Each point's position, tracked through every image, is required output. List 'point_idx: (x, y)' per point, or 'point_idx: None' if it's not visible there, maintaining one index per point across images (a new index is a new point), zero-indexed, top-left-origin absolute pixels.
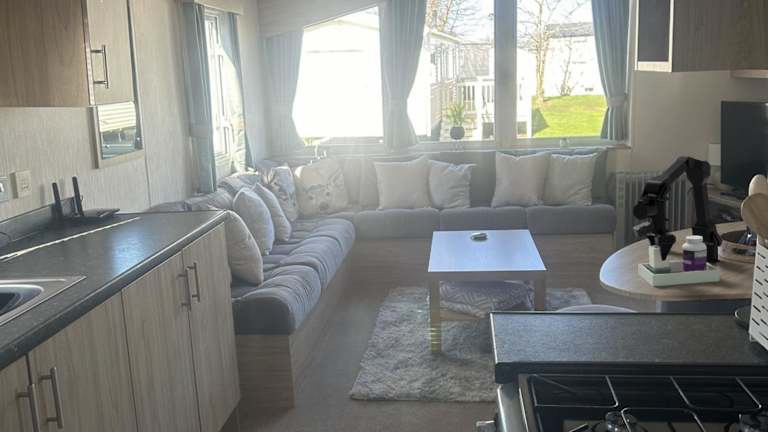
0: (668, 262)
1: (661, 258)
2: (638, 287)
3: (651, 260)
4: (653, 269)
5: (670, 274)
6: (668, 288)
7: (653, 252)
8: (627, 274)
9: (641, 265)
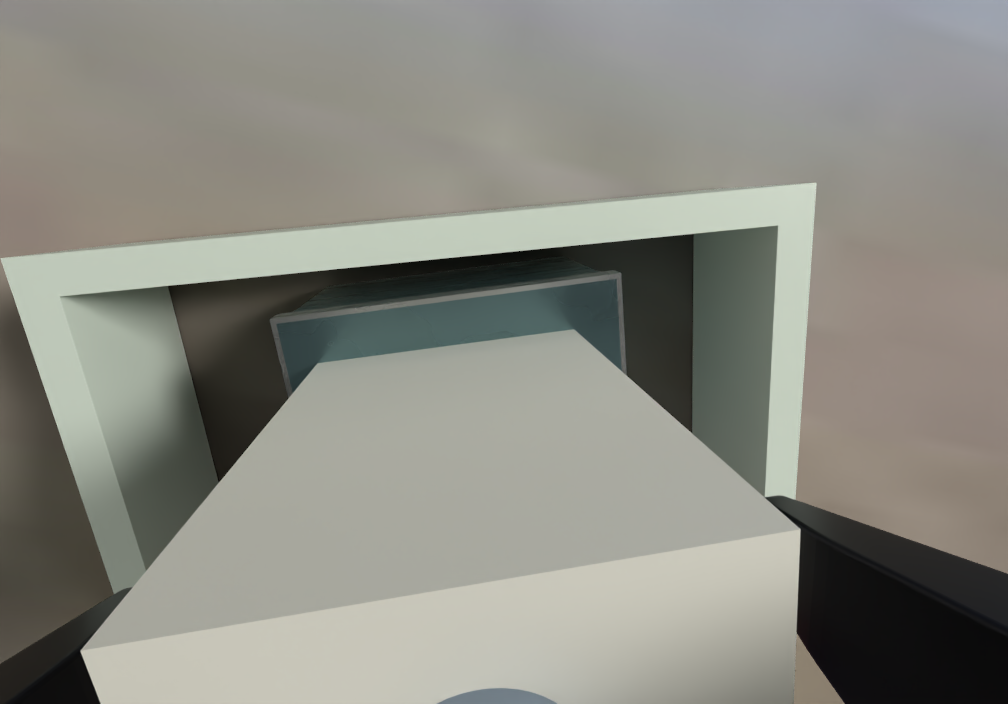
0: None
1: (98, 616)
2: (78, 29)
3: (459, 380)
4: (278, 338)
5: (106, 540)
6: (27, 410)
7: (197, 538)
8: (771, 40)
9: (706, 215)
